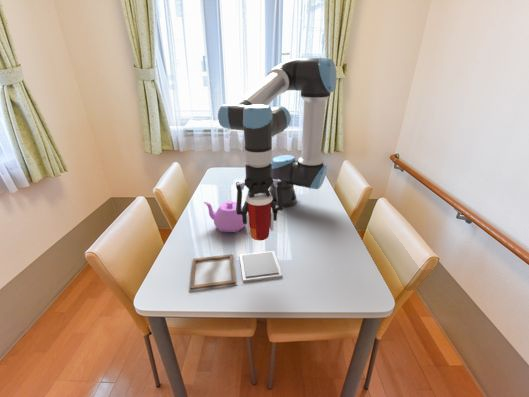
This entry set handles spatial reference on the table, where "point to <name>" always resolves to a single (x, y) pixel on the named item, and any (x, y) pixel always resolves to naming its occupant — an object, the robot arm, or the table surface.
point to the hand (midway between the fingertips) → (259, 229)
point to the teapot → (226, 217)
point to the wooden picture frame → (212, 272)
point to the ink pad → (259, 266)
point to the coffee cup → (259, 215)
